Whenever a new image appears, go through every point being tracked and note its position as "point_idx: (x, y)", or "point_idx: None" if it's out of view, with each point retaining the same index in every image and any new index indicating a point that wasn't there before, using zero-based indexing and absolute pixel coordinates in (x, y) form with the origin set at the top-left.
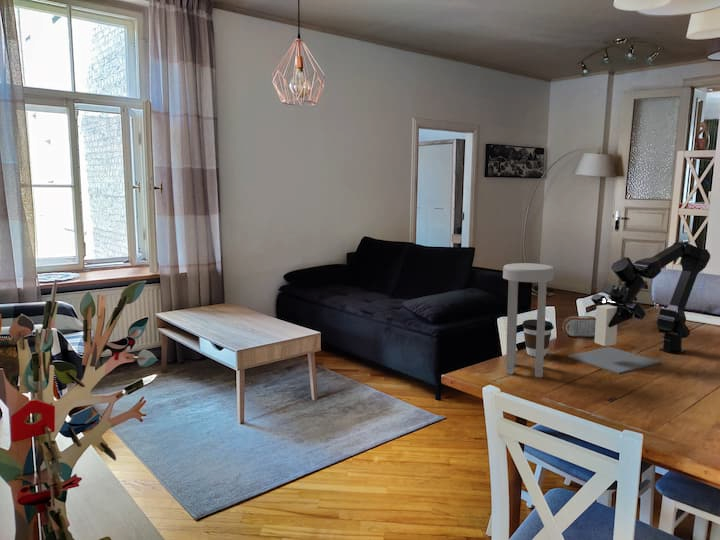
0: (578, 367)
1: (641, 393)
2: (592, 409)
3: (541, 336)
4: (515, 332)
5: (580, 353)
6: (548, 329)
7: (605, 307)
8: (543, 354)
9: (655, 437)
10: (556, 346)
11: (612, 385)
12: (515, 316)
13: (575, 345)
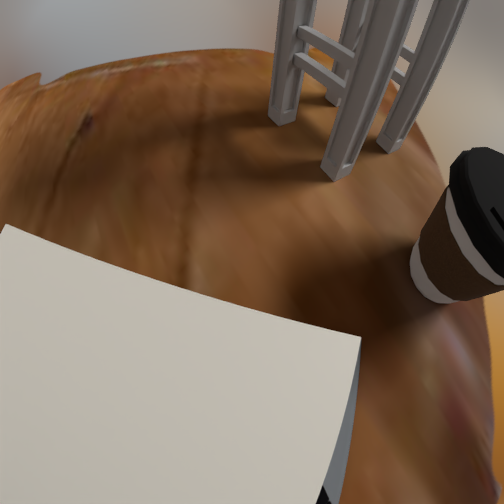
0: (253, 260)
1: (34, 196)
2: (109, 79)
3: (288, 11)
4: (412, 60)
5: (349, 419)
6: (452, 188)
7: (50, 342)
8: (331, 131)
9: (32, 87)
10: (461, 424)
11: (97, 189)
12: (430, 15)
13: (425, 501)
